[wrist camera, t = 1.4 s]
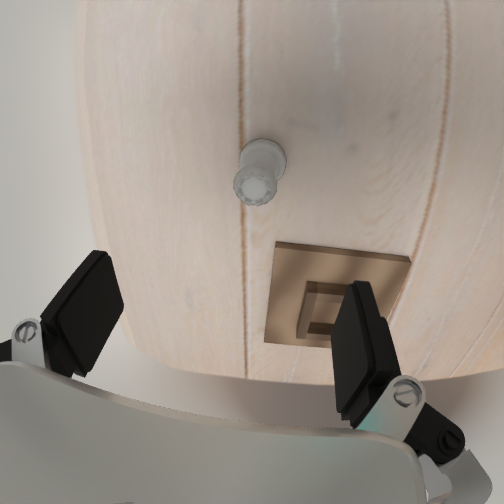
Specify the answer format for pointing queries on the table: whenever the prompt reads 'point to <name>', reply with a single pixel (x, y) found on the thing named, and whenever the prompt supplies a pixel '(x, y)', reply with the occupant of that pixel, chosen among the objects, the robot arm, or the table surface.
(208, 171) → the table surface
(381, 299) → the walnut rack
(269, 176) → the rook chess piece
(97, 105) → the table surface
